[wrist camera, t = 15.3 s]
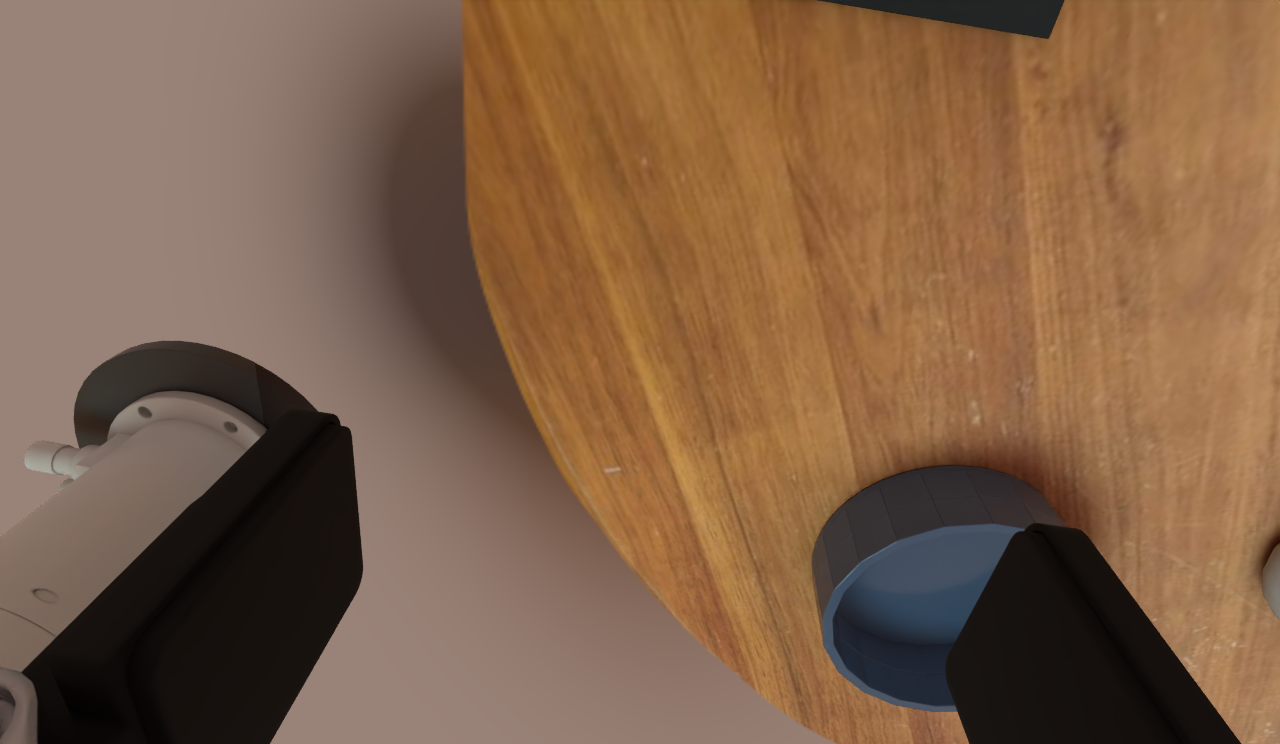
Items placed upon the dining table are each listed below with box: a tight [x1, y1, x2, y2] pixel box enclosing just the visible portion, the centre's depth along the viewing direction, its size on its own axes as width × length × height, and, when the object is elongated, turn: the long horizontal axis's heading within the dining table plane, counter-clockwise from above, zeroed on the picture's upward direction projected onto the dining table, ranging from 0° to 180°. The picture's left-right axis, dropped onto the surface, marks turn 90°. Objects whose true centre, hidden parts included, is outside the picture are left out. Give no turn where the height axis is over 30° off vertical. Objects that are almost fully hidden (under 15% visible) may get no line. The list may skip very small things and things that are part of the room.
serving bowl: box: [812, 466, 1070, 712], centre depth 40 cm, size 15×15×5 cm
